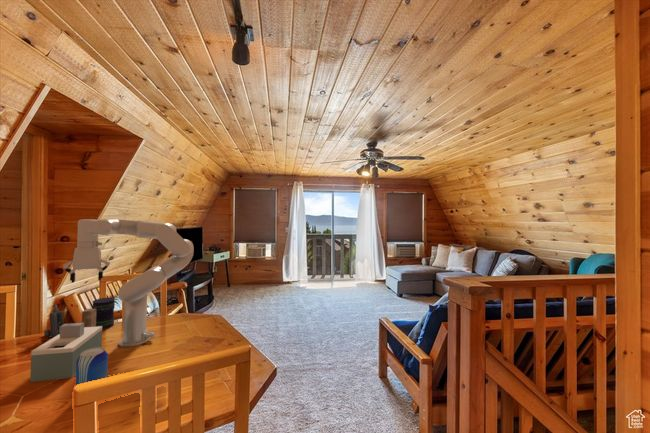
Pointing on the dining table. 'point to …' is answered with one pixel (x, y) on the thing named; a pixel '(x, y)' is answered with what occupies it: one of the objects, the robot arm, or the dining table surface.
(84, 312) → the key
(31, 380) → the toolbox
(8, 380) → the dining table surface
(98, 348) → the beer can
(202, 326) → the dining table surface
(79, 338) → the lid
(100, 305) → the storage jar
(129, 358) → the dining table surface
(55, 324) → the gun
